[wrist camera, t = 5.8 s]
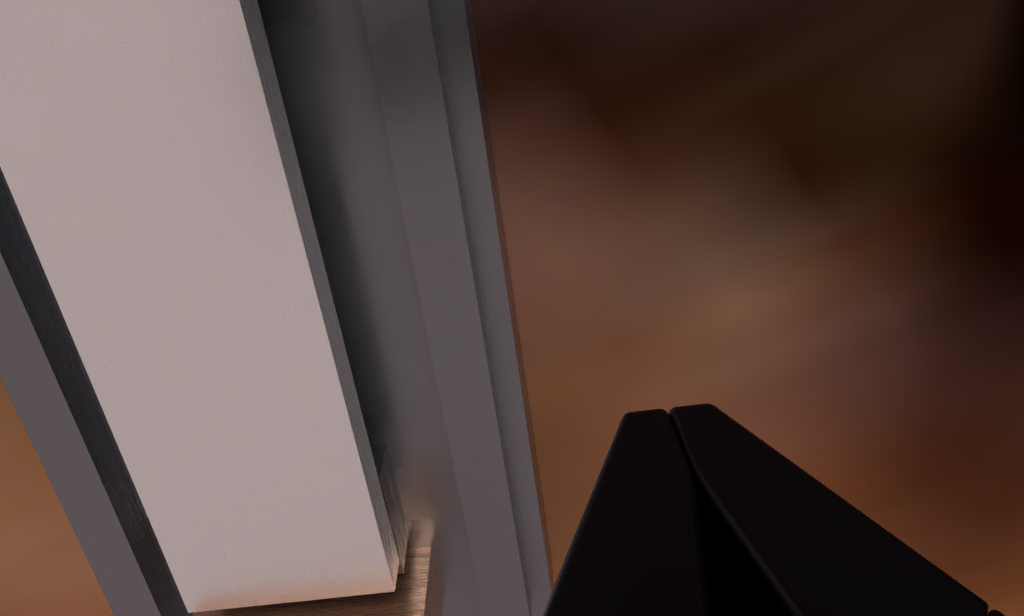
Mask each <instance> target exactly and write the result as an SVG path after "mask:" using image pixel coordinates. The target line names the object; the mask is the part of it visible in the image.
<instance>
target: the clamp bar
mask: <svg viewBox="0 0 1024 616" xmlns="http://www.w3.org/2000/svg"><path fill="white" fill-rule="evenodd" d="M0 167H1V170H2V172H3V174H4V177H5V179H6V181H7V184H8V186H9V189H10V191H11V193H12V196H13V198H14V200H15V203H16V205H17V208H18V210H19V212H20V215H21V217H22V219H23V222H24V224H25V227H26V229H27V231H28V234H29V236H30V238H31V241H32V243H33V246H34V248H35V250H36V253H37V255H38V257H39V260H40V262H41V265H42V267H43V269H44V272H45V274H46V276H47V279H48V281H49V284H50V286H51V288H52V291H53V293H54V295H55V298H56V300H57V303H58V305H59V307H60V310H61V312H62V314H63V317H64V319H65V321H66V324H67V326H68V329H69V331H70V333H71V336H72V338H73V340H74V343H75V345H76V348H77V350H78V352H79V355H80V357H81V359H82V362H83V364H84V367H85V369H86V371H87V374H88V376H89V378H90V381H91V383H92V386H93V388H94V390H95V393H96V395H97V397H98V400H99V402H100V405H101V407H102V409H103V412H104V414H105V416H106V419H107V421H108V424H109V426H110V428H111V431H112V433H113V435H114V438H115V440H116V443H117V445H118V447H119V450H120V452H121V454H122V457H123V459H124V462H125V464H126V466H127V469H128V471H129V473H130V476H131V478H132V481H133V483H134V485H135V488H136V490H137V492H138V495H139V497H140V499H141V502H142V504H143V507H144V509H145V511H146V514H147V516H148V518H149V521H150V523H151V526H152V528H153V530H154V533H155V535H156V537H157V540H158V542H159V545H160V547H161V549H162V552H163V554H164V556H165V559H166V561H167V564H168V566H169V568H170V571H171V573H172V575H173V578H174V580H175V583H176V585H177V587H178V590H179V592H180V594H181V597H182V599H183V602H184V604H185V606H186V609H187V611H188V613H192V612H201V611H211V610H221V609H230V608H240V607H250V606H259V605H269V604H279V603H289V602H298V601H308V600H318V599H327V598H337V597H347V596H356V595H366V594H376V593H385V592H395V587H396V580H397V573H398V567H399V557H398V554H397V550H396V546H395V542H394V538H393V534H392V530H391V526H390V522H389V518H388V514H387V510H386V506H385V502H384V498H383V494H382V490H381V486H380V483H379V479H378V475H377V471H376V467H375V463H374V459H373V455H372V451H371V447H370V443H369V439H368V435H367V431H366V427H365V423H364V419H363V416H362V412H361V408H360V404H359V400H358V396H357V392H356V388H355V384H354V380H353V376H352V372H351V368H350V364H349V360H348V356H347V352H346V349H345V345H344V341H343V337H342V333H341V329H340V325H339V321H338V317H337V313H336V309H335V305H334V301H333V297H332V293H331V289H330V285H329V282H328V278H327V274H326V270H325V266H324V262H323V258H322V254H321V250H320V246H319V242H318V238H317V234H316V230H315V226H314V222H313V218H312V215H311V211H310V207H309V203H308V199H307V195H306V191H305V187H304V183H303V179H302V175H301V171H300V167H299V163H298V159H297V155H296V151H295V147H294V144H293V140H292V136H291V132H290V128H289V124H288V120H287V116H286V112H285V108H284V104H283V100H282V96H281V92H280V88H279V84H278V80H277V77H276V73H275V69H274V65H273V61H272V57H271V53H270V49H269V45H268V41H267V37H266V33H265V29H264V25H263V21H262V17H261V13H260V10H259V6H258V2H257V0H0Z"/></svg>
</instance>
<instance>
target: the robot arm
mask: <svg viewBox="0 0 1024 616" xmlns="http://www.w3.org/2000/svg"><path fill="white" fill-rule="evenodd" d="M988 612H989V606H988V604H987V603H986V602H985V601H984V600H982V599H981V598H979V597H978V596H977V595H975V594H974V593H973V592H971V591H970V590H968V589H967V588H966V587H964V586H963V585H961V584H960V583H959V582H957V581H956V580H955V579H953V578H952V577H950V576H949V575H948V574H946V573H945V572H944V571H942V570H941V569H939V568H938V567H937V566H935V565H934V564H932V563H931V562H930V561H928V560H927V559H926V558H924V557H923V556H921V555H920V554H919V553H917V552H916V551H914V550H913V549H912V548H910V547H909V546H908V545H906V544H905V543H903V542H902V541H901V540H899V539H898V538H896V537H895V536H894V535H892V534H891V533H890V532H888V531H887V530H885V529H884V528H883V527H881V526H880V525H879V524H877V523H876V522H874V521H873V520H872V519H870V518H869V517H867V516H866V515H865V514H863V513H862V512H861V511H859V510H858V509H856V508H855V507H854V506H852V505H851V504H849V503H848V502H847V501H845V500H844V499H843V498H841V497H840V496H838V495H837V494H836V493H834V492H833V491H831V490H830V489H829V488H827V487H826V486H825V485H823V484H822V483H820V482H819V481H818V480H816V479H815V478H814V477H812V476H811V475H809V474H808V473H807V472H805V471H804V470H802V469H801V468H800V467H798V466H797V465H796V464H794V463H793V462H791V461H790V460H789V459H787V458H786V457H784V456H783V455H782V454H780V453H779V452H778V451H776V450H775V449H773V448H772V447H771V446H769V445H768V444H766V443H765V442H764V441H762V440H761V439H760V438H758V437H757V436H755V435H754V434H753V433H751V432H750V431H749V430H747V429H746V428H744V427H743V426H742V425H740V424H739V423H737V422H736V421H735V420H733V419H732V418H731V417H729V416H728V415H726V414H725V413H724V412H722V411H721V410H719V409H718V408H717V407H715V406H713V405H711V404H698V405H689V406H681V407H674V408H672V409H671V410H670V411H669V414H668V413H667V412H666V411H665V410H663V409H654V410H645V411H636V412H629V413H626V414H625V415H624V416H623V418H622V420H621V422H620V425H619V427H618V430H617V432H616V435H615V437H614V440H613V442H612V445H611V447H610V450H609V452H608V454H607V457H606V459H605V462H604V464H603V467H602V469H601V472H600V474H599V477H598V479H597V482H596V484H595V487H594V489H593V491H592V494H591V496H590V499H589V501H588V504H587V506H586V509H585V511H584V514H583V516H582V519H581V521H580V524H579V526H578V529H577V531H576V533H575V536H574V538H573V541H572V543H571V546H570V548H569V551H568V553H567V556H566V558H565V561H564V563H563V566H562V568H561V570H560V573H559V575H558V578H557V580H556V583H555V585H554V588H553V590H552V593H551V595H550V598H549V600H548V603H547V605H546V607H545V610H544V612H543V615H542V616H1005V615H1004V614H1002V613H1001V612H999V611H997V610H991V611H990V612H989V613H988Z"/></svg>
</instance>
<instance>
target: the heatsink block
mask: <svg viewBox="0 0 1024 616" xmlns="http://www.w3.org/2000/svg"><path fill="white" fill-rule="evenodd" d="M257 2H258V6H259V10H260V13H261V17H262V21H263V25H264V29H265V33H266V37H267V41H268V45H269V49H270V53H271V57H272V61H273V65H274V69H275V73H276V77H277V80H278V84H279V88H280V92H281V96H282V100H283V104H284V108H285V112H286V116H287V120H288V124H289V128H290V132H291V136H292V140H293V144H294V147H295V151H296V155H297V159H298V163H299V167H300V171H301V175H302V179H303V183H304V187H305V191H306V195H307V199H308V203H309V207H310V211H311V215H312V218H313V222H314V226H315V230H316V234H317V238H318V242H319V246H320V250H321V254H322V258H323V262H324V266H325V270H326V274H327V278H328V282H329V285H330V289H331V293H332V297H333V301H334V305H335V309H336V313H337V317H338V321H339V325H340V329H341V333H342V337H343V341H344V345H345V349H346V352H347V356H348V360H349V364H350V368H351V372H352V376H353V380H354V384H355V388H356V392H357V396H358V400H359V404H360V408H361V412H362V416H363V419H364V423H365V427H366V431H367V435H368V439H369V443H370V447H371V451H372V455H373V459H374V463H375V467H376V471H377V475H378V479H379V483H380V486H381V490H382V494H383V498H384V502H385V506H386V510H387V514H388V518H389V522H390V526H391V530H392V534H393V538H394V542H395V546H396V550H397V554H398V557H399V567H398V573H397V580H396V587H395V592H385V593H376V594H366V595H356V596H347V597H337V598H327V599H318V600H308V601H298V602H289V603H279V604H269V605H259V606H250V607H240V608H230V609H221V610H211V611H201V612H192V613H188V611H187V609H186V606H185V604H184V602H183V599H182V597H181V594H180V592H179V590H178V587H177V585H176V583H175V580H174V578H173V575H172V573H171V571H170V568H169V566H168V564H167V561H166V559H165V556H164V554H163V552H162V549H161V547H160V545H159V542H158V540H157V537H156V535H155V533H154V530H153V528H152V526H151V523H150V521H149V518H148V516H147V514H146V511H145V509H144V507H143V504H142V502H141V499H140V497H139V495H138V492H137V490H136V488H135V485H134V483H133V481H132V478H131V476H130V473H129V471H128V469H127V466H126V464H125V462H124V459H123V457H122V454H121V452H120V450H119V447H118V445H117V443H116V440H115V438H114V435H113V433H112V431H111V428H110V426H109V424H108V421H107V419H106V416H105V414H104V412H103V409H102V407H101V405H100V402H99V400H98V397H97V395H96V393H95V390H94V388H93V386H92V383H91V381H90V378H89V376H88V374H87V371H86V369H85V367H84V364H83V362H82V359H81V357H80V355H79V352H78V350H77V348H76V345H75V343H74V340H73V338H72V336H71V333H70V331H69V329H68V326H67V324H66V321H65V319H64V317H63V314H62V312H61V310H60V307H59V305H58V303H57V300H56V298H55V295H54V293H53V291H52V288H51V286H50V284H49V281H48V279H47V276H46V274H45V272H44V269H43V267H42V265H41V262H40V260H39V257H38V255H37V253H36V250H35V248H34V246H33V243H32V241H31V238H30V236H29V234H28V231H27V229H26V227H25V224H24V222H23V219H22V217H21V215H20V212H19V210H18V208H17V205H16V203H15V200H14V198H13V196H12V193H11V191H10V189H9V186H8V184H7V181H6V179H5V177H4V174H3V172H2V170H1V167H0V376H1V378H2V381H3V383H4V385H5V387H6V389H7V391H8V393H9V395H10V397H11V399H12V402H13V404H14V406H15V408H16V410H17V412H18V414H19V416H20V418H21V420H22V423H23V425H24V427H25V429H26V431H27V433H28V435H29V437H30V439H31V441H32V444H33V446H34V448H35V450H36V452H37V454H38V456H39V458H40V460H41V462H42V465H43V467H44V469H45V471H46V473H47V475H48V477H49V479H50V481H51V483H52V486H53V488H54V490H55V492H56V494H57V496H58V498H59V500H60V502H61V504H62V507H63V509H64V511H65V513H66V515H67V517H68V519H69V521H70V523H71V525H72V528H73V530H74V532H75V534H76V536H77V538H78V540H79V542H80V544H81V546H82V549H83V551H84V553H85V555H86V557H87V559H88V561H89V563H90V565H91V567H92V569H93V572H94V574H95V576H96V578H97V580H98V582H99V584H100V586H101V588H102V590H103V593H104V595H105V597H106V599H107V601H108V603H109V605H110V607H111V609H112V611H113V614H114V616H542V615H543V612H544V610H545V607H546V605H547V603H548V600H549V598H550V595H551V593H552V590H553V588H554V584H553V569H552V560H551V553H550V546H549V539H548V532H547V525H546V518H545V511H544V505H543V498H542V491H541V484H540V477H539V470H538V463H537V456H536V449H535V442H534V435H533V428H532V421H531V414H530V407H529V400H528V393H527V387H526V380H525V373H524V366H523V359H522V352H521V345H520V338H519V331H518V324H517V317H516V310H515V303H514V296H513V289H512V282H511V275H510V269H509V262H508V255H507V248H506V241H505V234H504V227H503V220H502V213H501V206H500V199H499V192H498V185H497V178H496V171H495V164H494V157H493V151H492V144H491V137H490V130H489V123H488V116H487V109H486V102H485V95H484V88H483V81H482V74H481V67H480V60H479V53H478V46H477V39H476V33H475V26H474V19H473V12H472V5H471V0H257Z"/></svg>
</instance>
